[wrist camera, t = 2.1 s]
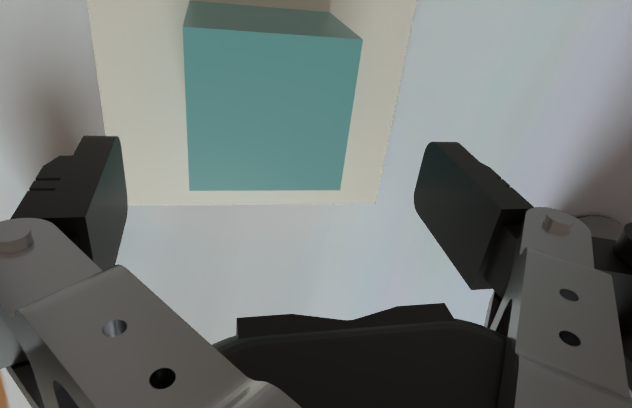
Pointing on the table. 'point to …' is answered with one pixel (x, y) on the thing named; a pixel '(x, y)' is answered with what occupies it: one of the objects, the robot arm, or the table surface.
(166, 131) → the board
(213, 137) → the frosted teal cube
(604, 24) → the table surface
